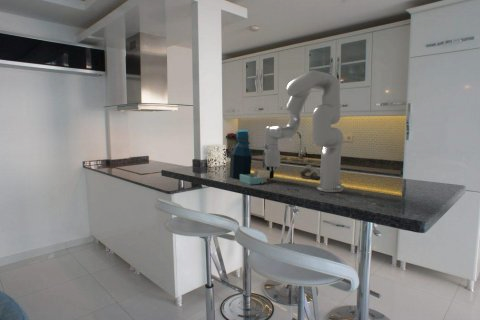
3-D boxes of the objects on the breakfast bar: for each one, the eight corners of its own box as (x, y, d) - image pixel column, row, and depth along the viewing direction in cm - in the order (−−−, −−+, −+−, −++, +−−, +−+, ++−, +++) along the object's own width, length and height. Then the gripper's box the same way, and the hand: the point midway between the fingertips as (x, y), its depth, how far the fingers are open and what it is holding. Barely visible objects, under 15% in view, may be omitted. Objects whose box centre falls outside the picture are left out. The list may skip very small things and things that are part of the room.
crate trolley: (270, 181, 176) (270, 170, 176) (259, 182, 173) (260, 171, 172) (263, 179, 183) (263, 169, 182) (253, 180, 180) (253, 169, 179)
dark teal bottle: (251, 179, 184) (252, 129, 181) (228, 179, 185) (228, 129, 182) (250, 174, 205) (251, 129, 202) (230, 173, 206) (230, 129, 202)
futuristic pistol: (317, 188, 184) (325, 174, 180) (298, 175, 191) (305, 161, 188) (319, 187, 186) (326, 174, 182) (299, 175, 193) (306, 161, 190)
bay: (263, 183, 171) (263, 176, 171) (249, 184, 167) (249, 177, 167) (253, 180, 182) (253, 173, 182) (239, 181, 178) (239, 174, 178)
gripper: (263, 147, 172) (263, 179, 174) (285, 147, 179) (284, 178, 181) (257, 146, 179) (256, 177, 181) (278, 146, 185) (278, 176, 187)
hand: (270, 177), depth 181 cm, fingers closed
